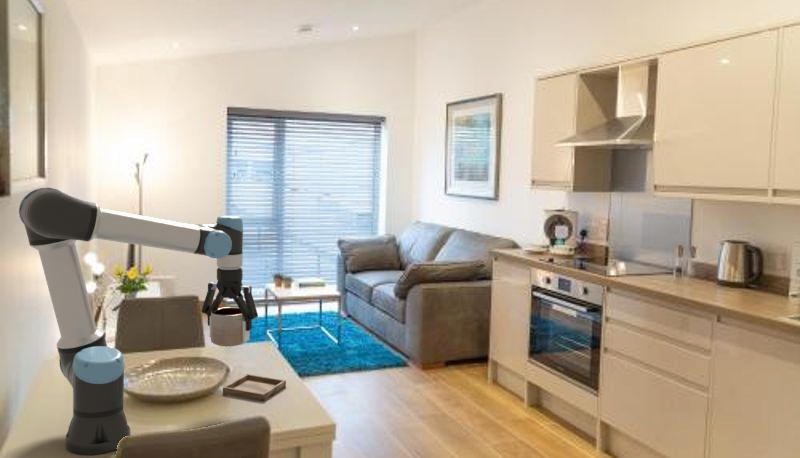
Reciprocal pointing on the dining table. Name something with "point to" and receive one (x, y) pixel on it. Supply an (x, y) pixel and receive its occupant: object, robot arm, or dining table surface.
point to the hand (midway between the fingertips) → (229, 338)
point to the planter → (227, 326)
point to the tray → (254, 387)
